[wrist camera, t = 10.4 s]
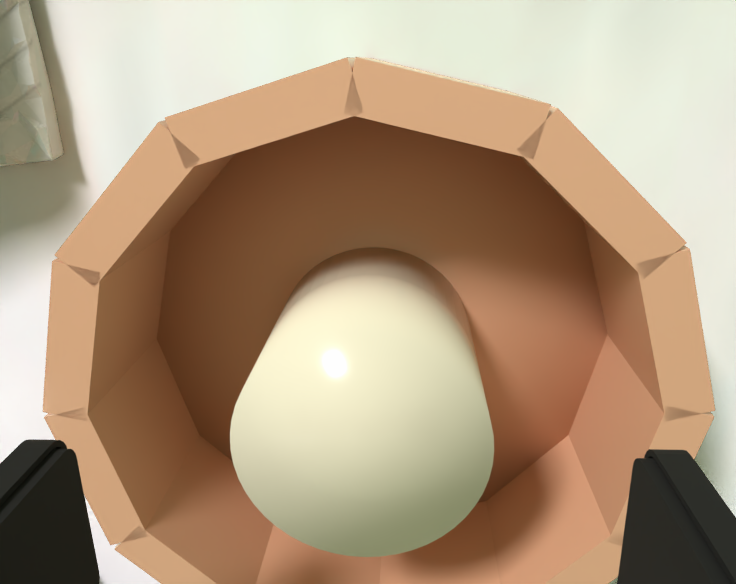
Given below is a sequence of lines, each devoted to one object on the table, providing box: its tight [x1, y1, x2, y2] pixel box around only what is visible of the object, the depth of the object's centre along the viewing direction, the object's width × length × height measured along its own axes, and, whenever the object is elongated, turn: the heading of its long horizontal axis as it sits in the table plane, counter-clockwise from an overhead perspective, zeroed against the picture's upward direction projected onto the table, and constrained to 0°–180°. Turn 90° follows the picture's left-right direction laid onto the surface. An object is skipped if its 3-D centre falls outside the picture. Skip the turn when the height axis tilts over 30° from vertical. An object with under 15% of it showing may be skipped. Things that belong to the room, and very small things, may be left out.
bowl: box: [43, 57, 715, 584], centre depth 16 cm, size 14×14×5 cm
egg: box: [230, 247, 494, 557], centre depth 15 cm, size 5×5×6 cm
